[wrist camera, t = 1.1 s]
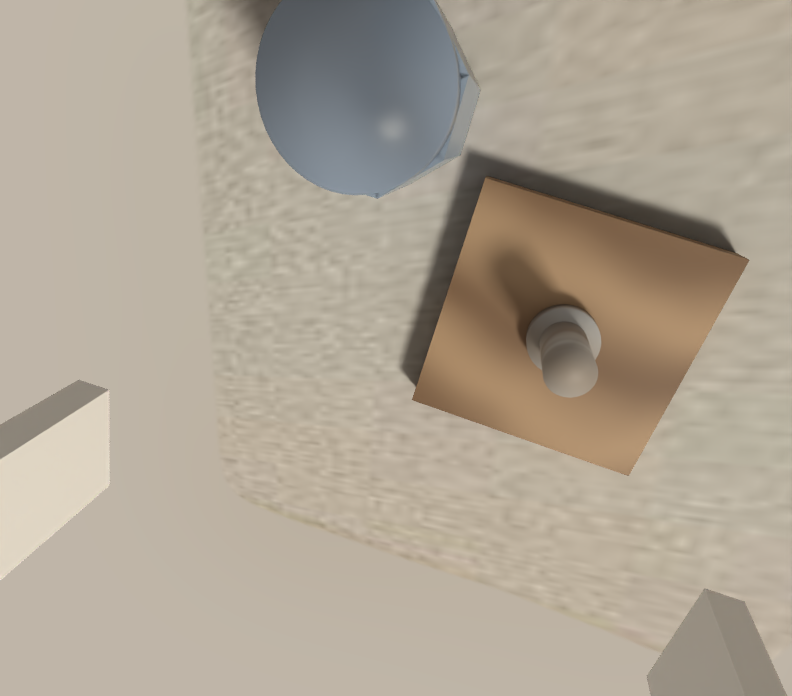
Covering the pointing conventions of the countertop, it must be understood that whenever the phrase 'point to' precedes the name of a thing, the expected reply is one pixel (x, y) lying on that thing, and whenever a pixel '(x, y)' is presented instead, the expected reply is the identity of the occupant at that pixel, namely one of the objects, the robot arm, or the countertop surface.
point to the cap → (364, 91)
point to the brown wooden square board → (571, 324)
